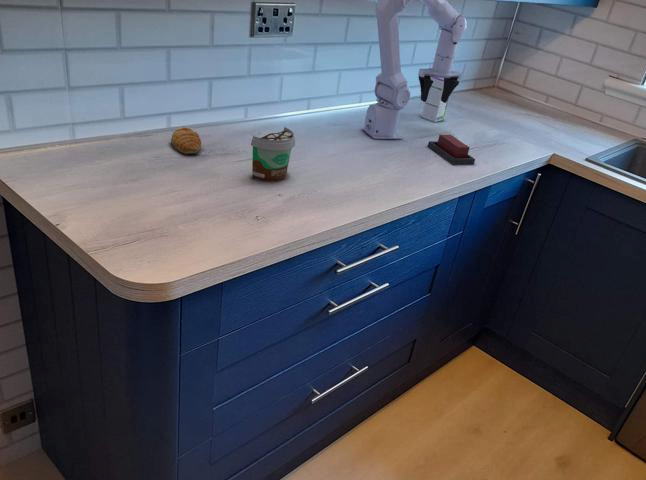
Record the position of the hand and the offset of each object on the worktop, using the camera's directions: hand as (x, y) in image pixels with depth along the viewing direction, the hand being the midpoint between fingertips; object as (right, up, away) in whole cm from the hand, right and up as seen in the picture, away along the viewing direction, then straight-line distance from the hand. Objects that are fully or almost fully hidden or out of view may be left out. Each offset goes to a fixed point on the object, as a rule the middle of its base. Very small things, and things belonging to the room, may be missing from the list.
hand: (433, 101), depth 185 cm
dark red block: (+4, -19, -11) cm, 22 cm away
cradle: (+3, -19, -11) cm, 22 cm away
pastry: (-65, -25, -41) cm, 81 cm away
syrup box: (+2, 0, +18) cm, 18 cm away
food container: (-43, -33, -47) cm, 72 cm away
